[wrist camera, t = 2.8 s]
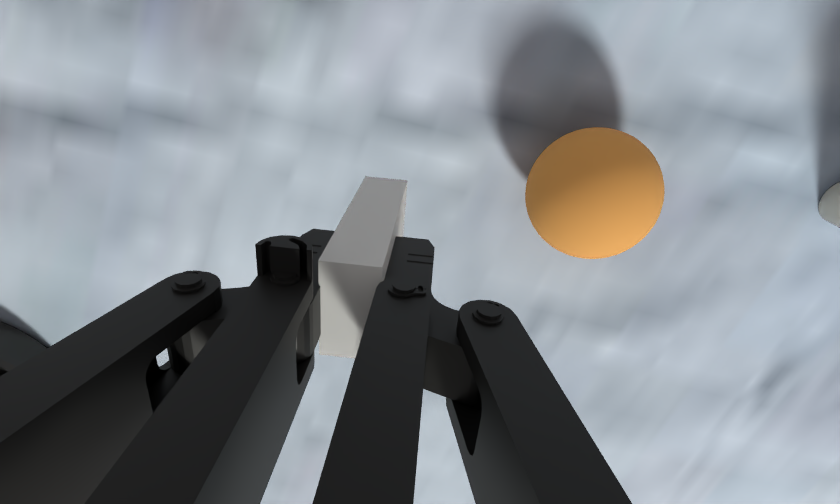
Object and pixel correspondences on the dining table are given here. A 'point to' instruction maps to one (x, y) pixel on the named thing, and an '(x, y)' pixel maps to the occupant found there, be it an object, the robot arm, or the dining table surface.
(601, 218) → the ball
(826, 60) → the dining table surface
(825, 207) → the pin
